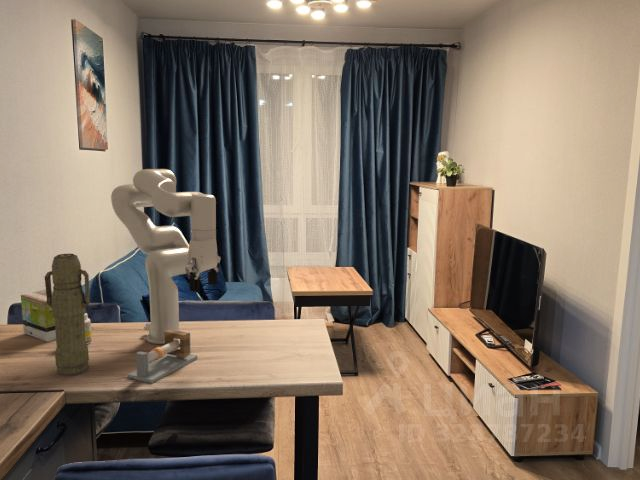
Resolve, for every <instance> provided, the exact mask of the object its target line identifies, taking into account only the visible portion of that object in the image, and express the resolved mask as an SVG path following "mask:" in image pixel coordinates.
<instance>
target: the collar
mask: <svg viewBox="0 0 640 480" xmlns="http://www.w3.org/2000/svg"><path fill="white" fill-rule="evenodd" d="M181 331H182V330H179V331H176V330H170V329H169V330H167V331H165V332H164V337H165V344H164V345H166V344H168V343H170V342H172V341H174V338H175V339H180V347H179V348H177V349H175V350H173V351H171V352H169V353H167V354H170V355H174V356H179V357H184V358H185V357H187V356H188V355H189V333H190V332H187V331H182V332H181ZM167 354H166V355H167Z"/></svg>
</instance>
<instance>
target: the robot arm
mask: <svg viewBox="0 0 640 480" xmlns="http://www.w3.org/2000/svg"><path fill="white" fill-rule="evenodd" d="M176 186H177V177H176V175H175V173H173V171H171V170H170V169H167V168H145V169H141V170H139V171H137V172H136V173H134V175H133V178H132V184H131V183H130V184H129V183H128V184H123V185H119V186H117V187H115V188H114V189H113V190H112V192H111V194H110V199H111V206H112V209H113V211H114V213H115V215H116V217H117V218H118V219H119V221H120V222H121V223H122V224H123V225H124V226H125V228H126V229H127V230H128V232H129V233H130V235H131V237H132V239H133V240H134V242H135V244H136V245H137V247H138V249H139V250H140V251H141V252H142V253H143V254H146V255H147V256H146V257H145V261H144V264H145V270H146V274H147V279H148V287H149V288H148V289H149V293H148V294H149V308H150V309H149V311H150V312H149V313H150V317H149V318H150V323H149V322H147V323H145V326H144V327H143V330H144V331H148V334H147V335H146V341H147V342H148V343H150V344H155V345H165V337H164V332H165V331H167V330H169V329H170V330H176V331H181V332H183V331H182V330H180V316H179V314H180V313H179V312H180V311H179V307H180V306H179V289H178V286H177V284H176V282H175V281H174V280H173V278H172V277H175V276H179V275H185V274H186V276H187V278H188V279H189V291H190V292H194V293H199V292H200V279H199V277H200V274H201V273H203V272H206V271H207V283H208V285H213V286H217V285H218V272H219V267H220V265H221V264H220V262H221V259H222V258H221V256H219V254H218V245H217V229H216V227H217V225H216V224H217V221H216V220H217V218H216V217H217V215H216V214H217V213H216V212H217V210H216V209H217V207H216V205H217V201H216V200H217V199H216V197H215V196H214V195H213V194H207V193H206V194H205V193H202V192H200V191H182V192H181V191H179V192H178V191H177V187H176ZM148 207H149V208H150V207H153V208H154V209H155V210H156V211H157V212H159V213H161V214H162V215H164V216H166V217H170V218H175V217H179V218H180V217H188V216H190V240H189V243H188V241H187V239H186V238H185V236H184V234H183V233H182V231H181V230H180V229H179V228H178V227H177V226H173V225H161V226H160V225H159V226H158V225H155V224H154V222H153V221H152V219H151V217H149V216H148V215H147V214H146V213H145V212H143V211H141V210H140V209H138V208H148ZM174 340H177V339H175V338H174Z"/></svg>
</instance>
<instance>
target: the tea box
mask: <svg viewBox="0 0 640 480" xmlns="http://www.w3.org/2000/svg"><path fill="white" fill-rule="evenodd" d="M51 291H52V294H53V290H51ZM20 302H21V315H22V324H23V334H24V335H29V336H31V337H34V338H37V339H39V340H42V341H44V342H47V343H49V342H52V341H56V330H55V318H54V317H53V313H52V308H51V307H50V306H49V305H48V304H47V295H46V289H43V290H38V291H34V292H29V293H24V294H20Z"/></svg>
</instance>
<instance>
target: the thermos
mask: <svg viewBox="0 0 640 480" xmlns="http://www.w3.org/2000/svg"><path fill="white" fill-rule="evenodd" d="M51 263H52V264H51V271H48V272H47V273H46V274H45V275H44V284H45V285H44V287H45V290H46V295H47V304H48V305H49V306H50V307H51V308H52V313H53V317H54V318H55V330H56V340H55V341H56V343H55V344H56V349H55V352H54V358H55V366H56V374H57V375H58V376H61V377H72V376H73V377H74V376H78V375H82V374H84V373H86V372H87V371H89V369H90V366H89V362H90V361H89V360H90V358H89V357H90V356H89V355H90V354H89V347H88V344H86V338H85V321H84V314H85V313H87V311H86V310H87V309H86V306H89V305H90V301H91V297H90V296H91V295H90V278H89V273H88V272H87V271H86V270H83V269H82V266H81V261H80V260H79V257H78V255H76V254H75V253H60V254H56V256H54V257H53V260H52V262H51ZM82 275H83V276H84V289H85V290H84V289H83V285H82ZM51 276H52V278H51ZM52 284H53V287H52ZM52 291H53V294H52ZM84 291H85V292H84Z"/></svg>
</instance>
